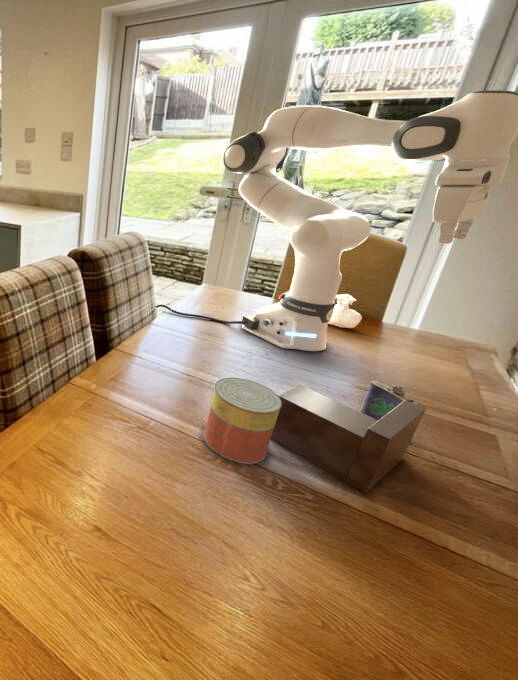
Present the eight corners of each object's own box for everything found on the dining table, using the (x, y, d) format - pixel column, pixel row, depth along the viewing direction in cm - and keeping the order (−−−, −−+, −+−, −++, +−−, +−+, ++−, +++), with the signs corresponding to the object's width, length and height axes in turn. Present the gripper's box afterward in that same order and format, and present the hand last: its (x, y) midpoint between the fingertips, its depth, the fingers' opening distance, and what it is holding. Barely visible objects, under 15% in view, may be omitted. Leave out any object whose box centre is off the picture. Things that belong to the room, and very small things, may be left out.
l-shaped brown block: (265, 435, 82) (280, 387, 78) (305, 411, 90) (320, 365, 85) (365, 493, 69) (390, 439, 64) (401, 459, 76) (426, 408, 72)
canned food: (258, 431, 83) (273, 383, 79) (272, 470, 74) (289, 418, 69) (201, 419, 87) (211, 373, 82) (206, 455, 77) (218, 404, 72)
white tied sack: (356, 335, 130) (371, 305, 130) (355, 327, 125) (371, 296, 125) (313, 323, 139) (327, 295, 139) (311, 315, 134) (325, 286, 134)
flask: (354, 414, 89) (371, 373, 85) (365, 413, 89) (383, 372, 85) (397, 443, 80) (417, 399, 76) (409, 441, 81) (430, 398, 77)
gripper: (465, 174, 90) (448, 234, 94) (433, 177, 81) (415, 244, 85) (508, 173, 85) (487, 237, 89) (479, 176, 75) (458, 247, 79)
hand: (452, 240), depth 87 cm, fingers open, 8 cm apart
